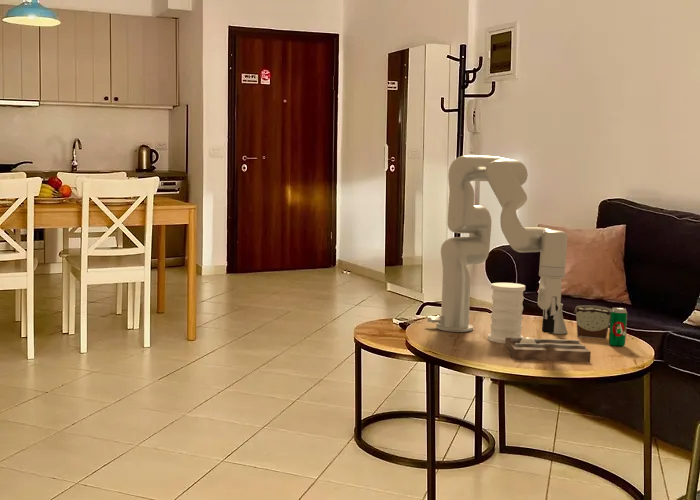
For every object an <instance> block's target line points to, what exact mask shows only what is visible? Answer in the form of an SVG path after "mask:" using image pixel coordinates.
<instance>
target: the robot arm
mask: <svg viewBox="0 0 700 500" xmlns="http://www.w3.org/2000/svg"><path fill="white" fill-rule="evenodd" d="M528 173H529V172H528V169H527V167H526V165H525V164H524V163H523V162H522V161H520V160H517V159H510V158H506V157H502V156H501V157H500V156H493V155H480V154H479V155H478V154H476V155H475V154H467V155H466V154H465V155H461V156H458V157H456V158H455V159H454V160H453V161H452V162H451V164H450V166H449V169H448V175H447V177H448V178H447V179H448V187H449V188H448V191H449V193H448V206H447V208H448V209H447V210H448V211H447V228H448V229H449V231H450V232H452V233H455V234H468V236H454V237H449V238H447V239H446V240H444V241H443V242H442V244H441V247H440V257H441V259H440V260H441V264H442V282H441V283H442V285H441V286H442V288H441V289H442V290H441V309H440V310H441V313H439V315H437V316H431V315H430V316H429V315H428V316H427V318H426V319H427V322H429V323H430V322H431V323H433V324H434V323H436V325H435V327H436V329H438V330H439V331H440V330H441V331H443V332H449V333H450V332H451V333H468V332H473V330H474V326H473V325H472V324H469V323H470V305H471V304H470V301H471V300H470V299H471V274H470V271H469V269H468V267H467V265H479V264H480V265H481V264H483V263H484V262H485V261H487V259H488V257H489V253H490V248H491V247H490V246H491V238H492V237H491V235H492V233H491V232H492V216H491V213H490V211H489V210H488V209H487V208H486V207H485V206H483V205H476V204H475V190H474V187H473V184H472V183H471V182H487V183H488V184H489V185H490V189H491V190H492V191H493V193H494V195H495V197H496V199H497V201H498V203H499V205H500V207H501V213H500V220H499V221H500V229H501V231H502V234H503V235H504V238H505V240H506V241H507V243H508V245H509V246H510V247H511V248H512V250H513V251H515V252H516V253H539V252H540V253H539V254H540V255H539V270H538V276H539V277H540V279H539V287H538V295H537V306H538V307H539V308H540V309H541V310H543V311H542V323H541V327H542V328H541V331H542V332H543V333H545V334H546V333H548V334H554V333H553V332H554V322H555V311H559V310H560V303H561V302H562V301H561V300H562V279H565V277H566V276H565V275H566V267H567V266H566V265H567V264H566V263H567V262H566V261H567V251H568V234H567V232H565V231H563V230H557V229H556V230H554V229H550V228H546V227H539V226H538V227H537V226H536V227H534V226H532V227H526V226H525V227H523V225H522V223H521V221H520V219H519V218H518V213H517V210H519V209H520V208H522V207H523V206H524V205H525V204H526V202H527V200H528V196H527V193H526V192H525V190H524V188H523V185H524V184H525V183H526V182H527V180H528V176H529V175H528ZM561 304H562V303H561Z"/></svg>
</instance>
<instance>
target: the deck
mask: <svg viewBox="0 0 700 500" xmlns="http://www.w3.org/2000/svg"><path fill="white" fill-rule="evenodd" d="M522 339H523V338H505V343H504V348H505V349H506V351H507V352H508V353H509V354H510V356H511V357H512V358H513V360H522V361H523V360H525V361H526V360H527V361H550V362H551V361H555V362H556V361H557V362H582V363H590V362H591V353H592V352H591V350H589V349H588V348H587V347H586V345H584V344H582V343H581V342H580V340H578V339H559V338H558V339H556V338H555V339H554V338H533V339H534V340H535V342H536V344H531V343H520V341H521V340H522Z"/></svg>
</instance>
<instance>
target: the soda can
mask: <svg viewBox="0 0 700 500" xmlns="http://www.w3.org/2000/svg"><path fill="white" fill-rule="evenodd" d="M627 322H628V311H627V309H626V307H625V308H624V307H612V308H611V313H610V322H609V328H608V331H609V332H608V345H609V346H612V347H614V346H615V347H616V348H623V347H625V345H626V338H627V337H626V336H627V324H628V323H627ZM615 347H614V348H615Z"/></svg>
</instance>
